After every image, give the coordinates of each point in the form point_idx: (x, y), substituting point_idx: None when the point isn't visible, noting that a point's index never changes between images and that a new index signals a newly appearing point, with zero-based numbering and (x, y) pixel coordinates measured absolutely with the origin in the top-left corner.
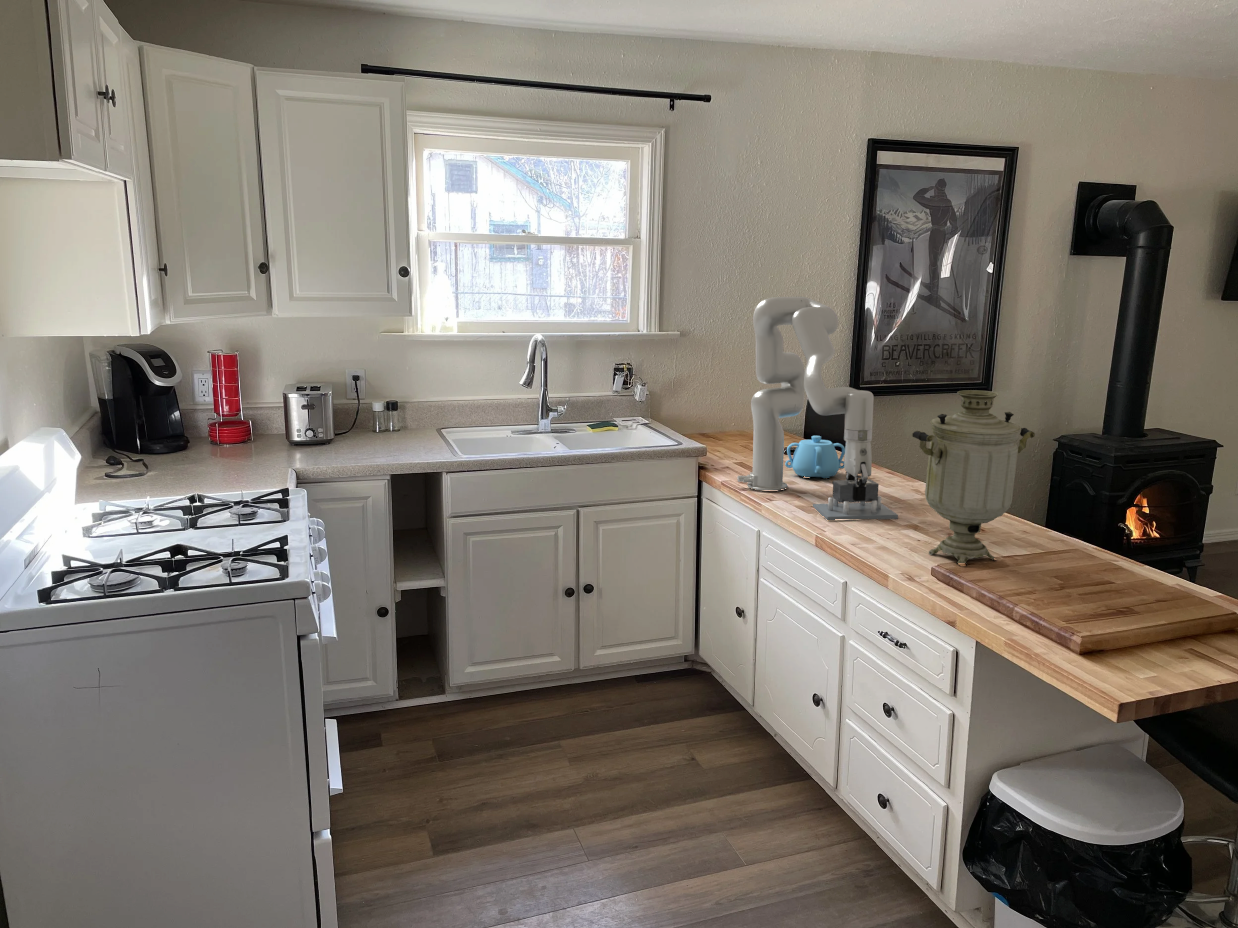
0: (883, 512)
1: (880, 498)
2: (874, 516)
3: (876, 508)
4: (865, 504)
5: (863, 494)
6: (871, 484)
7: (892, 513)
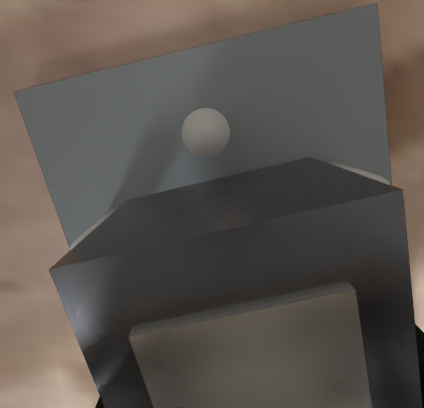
0: (313, 107)
1: (224, 119)
2: (387, 179)
3: (348, 166)
4: (105, 203)
5: (417, 326)
6: (408, 298)
7: (340, 42)
